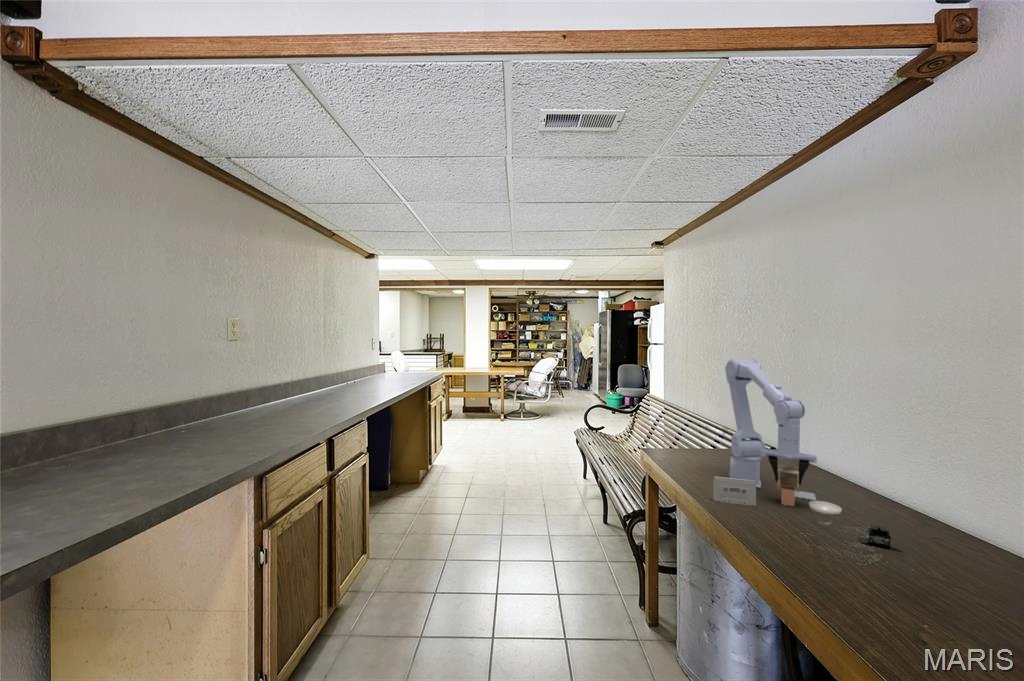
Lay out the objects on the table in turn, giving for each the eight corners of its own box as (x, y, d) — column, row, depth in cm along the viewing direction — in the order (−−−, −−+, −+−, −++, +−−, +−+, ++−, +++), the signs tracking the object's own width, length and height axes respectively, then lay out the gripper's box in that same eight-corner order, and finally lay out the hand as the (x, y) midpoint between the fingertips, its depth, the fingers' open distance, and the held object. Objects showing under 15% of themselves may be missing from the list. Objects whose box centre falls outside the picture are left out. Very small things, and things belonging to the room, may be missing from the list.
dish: (810, 511, 132) (810, 507, 132) (807, 502, 139) (807, 498, 138) (843, 517, 128) (843, 512, 128) (839, 507, 135) (839, 503, 134)
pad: (790, 496, 144) (790, 496, 144) (789, 490, 150) (789, 489, 150) (816, 500, 140) (816, 500, 140) (814, 493, 146) (814, 493, 146)
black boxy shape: (849, 545, 111) (849, 527, 111) (845, 534, 118) (845, 517, 118) (914, 558, 105) (914, 539, 105) (906, 545, 111) (907, 527, 111)
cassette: (713, 501, 139) (713, 477, 139) (713, 499, 141) (713, 475, 141) (756, 506, 135) (756, 481, 135) (755, 504, 137) (755, 480, 137)
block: (781, 504, 137) (781, 488, 137) (781, 501, 140) (781, 485, 140) (794, 506, 135) (794, 490, 135) (793, 503, 138) (794, 487, 138)
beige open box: (777, 489, 137) (778, 469, 136) (777, 483, 142) (777, 464, 142) (798, 492, 134) (799, 472, 134) (797, 486, 139) (797, 467, 139)
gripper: (761, 438, 138) (761, 481, 138) (818, 444, 131) (817, 490, 131) (762, 434, 144) (761, 475, 144) (815, 439, 137) (814, 483, 137)
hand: (787, 482), depth 138 cm, fingers closed on beige open box, 5 cm apart
